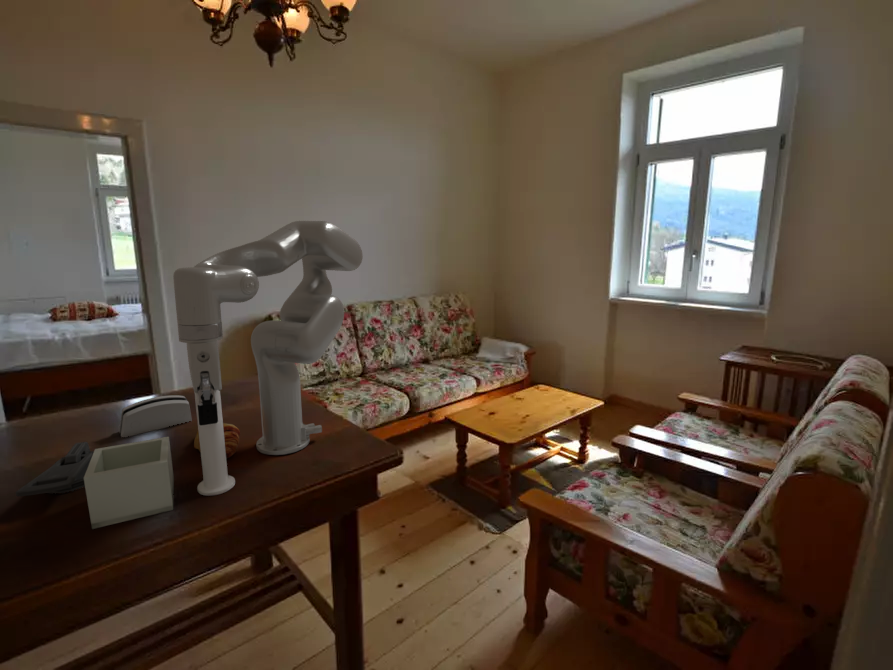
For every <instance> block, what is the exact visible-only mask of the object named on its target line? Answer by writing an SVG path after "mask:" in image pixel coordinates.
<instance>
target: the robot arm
mask: <svg viewBox="0 0 893 670" xmlns="http://www.w3.org/2000/svg"><path fill="white" fill-rule="evenodd" d="M354 238H355V237H352V236H351V235H350V234H348V233H347V232H345V231H344V230H342V229H341V228H340V227H338V226H337V225H335V224H333V223H331V222H329V221H325V220H296V221H292V222H289V223H288V224H285V225H284V226H282V227H280V228H278V229H277V230H275V231H273V232H272V233H270V234H268V235H266V236H265V237H263V238H261V239H258V240H254V241H251V242H248V243H245V244H242V245H239V246H235V247H232V248H230V249H229V248H228V249H226V250H223V251H221V252H217V253H215V254H213V255H211V256H209V257H207V258H206V259H203V260H202V261H199V262H198V263H196V265H194V266H193V267H180V268H177V269H176V270H175V271H174V272H173V289H174V291H173V292H174V302H175V312H176V313H175V314H176V320H177V321H176V322H177V331H178V332H177V334H178V342H180V343H184V344H186V350H187V352H186V353H187V360H188V368H189V375H190V381H191V385H192V389H193V393H194V392H195V393H198V398H199V405H198V415H199V425H208V424H215V423H217V422H218V414H217V402H216V403H215V394H214V388H215V390H219V391H220V392H221V390H223V386H222V384H223V383H222V373H221V361H220V353H219V352H220V351H219V350H220V349H219V344H218V343H219V342H218V341H221V340H222V339H223V338H224V336H223V321H222V313H221V312H222V310H221V309H222V308H221V304H222V303H235V304H236V303H237V304H238V303H245V302H248V301H250V300H252V299H253V298H255V296H256V295H257V294H258V291H259V289H260V288H259V287H260V283H259V282H260V281H259V277H268V276H273V275H277V274H281V273H283V272H285V271H286V270H287V269H289V268H291V266H293V265H294V264H295V263H297V262H299V261H300V260H301V261H302V271H303V272H302V273H303V275H302V280H301V281H300V282H299V284H298V285H297V286H296V288H295V289H294V290H293V291H292V293H290V295H289V296H288V297H287V299H286V300H285V301H284V302H283V304H282V306H281V308H280V310H279V318H280V320H266V321H263V322H260V323H259V324H257V325H256V326H255V327H254V329H253V330H252V333H251V337H250V344H251V345H250V347H251V350H252V354H253V357H254V360H255V364H256V369H257V378H258V389H259V390H258V391H259V404H260V417H261V430H262V436H261V437H260V438H259V439H258V440H257V441H256V450H257V451H258V452H260V453H261V454H264V455H269V456H282V455H283V456H284V455H289V454H293V453H297V452H299V451H300V450H303V449H304V448H306V447H307V446H308V445H309V443H310V435H313V434H319V433H322V432H323V427H322V424H318V425H315V423H308V424H306V423H304V422H303V411H302V391H301V377H300V372H299V369H298V367H297V365H296V364H301V365H311V364H315V363H316V362H318V361H319V360H320V358H322V357H323V355H324V354H325V352H326V351H327V349H328V348H329V346H330V344H331V343H332V342H333V340H334V339H335V337H336V335H337V334H338V332H339V331H340V330H341V327H342V325H343V322H344V318H345V309H344V308H345V307H344V305H343V302H342V301H341V299H339V298H338V297H337V296H335V295H332V293H333V286H332V283H331V281H330V279H329V277H328V274H327V271H337V272H338V271H340V272H352V271H355V270H356V269H359V267H360V266H361V265H362V262H363V256H364V255H363V249H362V247H361V245H360V244H359V242H358V241H357V240H356V239H354ZM210 387H212V388H210ZM200 388H203V389H200ZM197 391H198V392H197ZM195 393H194V394H195ZM201 394H202V395H201Z"/></svg>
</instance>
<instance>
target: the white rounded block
mask: <svg viewBox="0 0 893 670" xmlns="http://www.w3.org/2000/svg"><path fill="white" fill-rule="evenodd" d="M191 412H192V411H191V408H190V402H189V401H188V399H187V398H186V397H185V395H178V394H177V395H162V396H154V397H150V398H146V399H143V400H140V401H137V402H134V403H131V404H130V405H127V406H125V407H123V408H122V410H121V415H120V421H119V422H120V424H119V427H118V428H119V429H118V432H119V434H120V437H121V438H122V437H125V438H128V436H129V437H132V436H136V435H140V434H145V433H149V432H150V433H151V432H153V431H157V430H162V429H166V428H170V427H174V426H178V425H177V424H179V425H182V424H181V423H183V424H186V423H185V422H187V423H190V422H189V421H191V422H192V421H193V418H192V413H191ZM173 425H174V426H173ZM169 426H170V427H169Z"/></svg>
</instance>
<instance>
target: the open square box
mask: <svg viewBox="0 0 893 670" xmlns="http://www.w3.org/2000/svg"><path fill="white" fill-rule="evenodd" d="M172 460H173V459H172V452H171V445H170V437H169V436H164V437H163V436H162V437H158V438H152V439H146V440H140V441H134V442H129V443H123V444H116V445H111V446H110V445H109V446H107V447H105V446H104V447H99V448H94V453H93V456H92V458H91V461H90V463H89V466H88V468H87V471H86V473H85V476H84V483H85V487H84V488H85V495H86V499H87V501H86V502H87V506H88V507H87V508H88V512H89V518H90V524H91V529H92V530H94V529H100V528H103V527H106V526H110V525H115V524H119V523H122V522H128V521H133V520H135V519H141V518H144V517H148V516H153V515H157V514H162V513H166V512H169V511H173V510H174V495H173V494H175V493H174V491H175V477H174V470H173V461H172Z"/></svg>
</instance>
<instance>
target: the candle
mask: <svg viewBox="0 0 893 670" xmlns="http://www.w3.org/2000/svg"><path fill="white" fill-rule="evenodd" d="M210 388H212V387H210ZM200 389H203V388H200ZM197 392H198V391H197ZM193 393H194V399H195V400H194V401H195V410H196V420H197V431H199V441H200V450H201V452H200V457H201V458H200V459H201V466H202V467H201V468H202V475H203V477H202V478H203V480H201V482H199V483H198V484H197V488H196V489H197V492H198V493H199V494H200V495H203V496H206V497H207V496H208V497H209V496H210V497H211V496H217V495H221V494H223V493H226V492H228V491H230V490H231V489H233V488H234V486H235V484H236V478H235V477H234V476H232V475H229V474H228V473H229V472H228V466H227V465H228V463H227V458H226V451H225V440H224V429H223V423H224V420H223V412H222V411H223V410H222V409H223V408H222V399H221V398H222V397H221V390H220V391H219V390H215V388H214V394H215V403H216V402H217V414H218V422H217V423H215V424H208V425H199V415H198V405H199V398H198V393H195V392H194V391H193ZM201 395H202V394H201Z"/></svg>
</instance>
